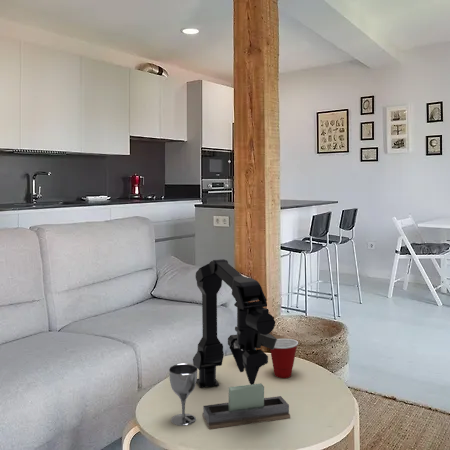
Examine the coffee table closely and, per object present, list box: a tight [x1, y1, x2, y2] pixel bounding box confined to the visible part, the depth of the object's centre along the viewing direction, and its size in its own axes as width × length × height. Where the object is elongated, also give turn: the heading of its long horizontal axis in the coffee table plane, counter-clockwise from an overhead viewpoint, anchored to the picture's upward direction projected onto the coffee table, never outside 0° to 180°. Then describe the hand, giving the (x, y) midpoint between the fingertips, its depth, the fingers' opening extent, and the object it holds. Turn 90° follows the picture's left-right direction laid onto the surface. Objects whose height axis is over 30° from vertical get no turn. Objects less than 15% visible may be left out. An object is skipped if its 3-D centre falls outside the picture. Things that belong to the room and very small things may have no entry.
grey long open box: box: [202, 395, 291, 430], centre depth 146 cm, size 8×24×4 cm, turn 106°
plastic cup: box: [269, 338, 299, 379], centre depth 176 cm, size 11×11×12 cm
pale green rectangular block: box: [228, 382, 265, 411], centre depth 146 cm, size 2×10×8 cm, turn 106°
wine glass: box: [168, 363, 198, 427], centre depth 144 cm, size 8×8×15 cm
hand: (246, 377), depth 145 cm, fingers open, 9 cm apart
